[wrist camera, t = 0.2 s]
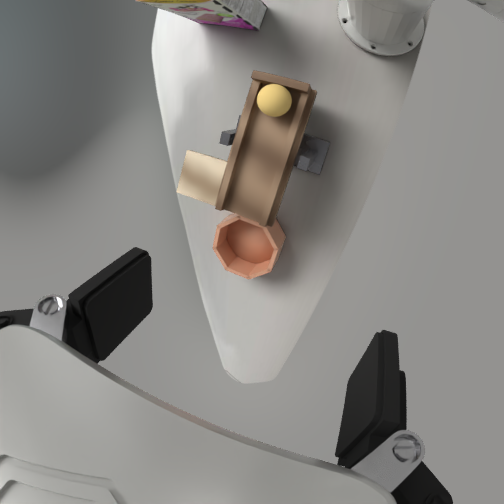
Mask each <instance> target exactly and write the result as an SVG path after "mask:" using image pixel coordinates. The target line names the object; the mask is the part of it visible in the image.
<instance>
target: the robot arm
mask: <svg viewBox="0 0 504 504" xmlns="http://www.w3.org/2000/svg"><path fill="white" fill-rule="evenodd" d="M433 1H434V0H339V3H338V9H337V11H338V19H339V22H340V25H341V27H342V29H343V31H344V32H345V34H346V35H347V36H348V37H349V38H350V39H351V40H352V41H353V42H354V43H355V44H356V45H358V46H359V47H361V48H363V49H364V50H366V51H369V52H371V53H374V54H378V55H382V56H398V55H402V54H405V53H407V52H409V51H411V50H412V49H413V48H415V47H416V46H417V45H418V43H419V42H420V41H421V39H422V37H423V33H424V19H423V16H424V15H425V13H426V12H427V10H428V9H429V7H430V6H431V4H432V3H433ZM468 1H470V2H471V3H473V4H475V5H477V6H478V7H480V8H482V9H484V10H485V11H486V12H488V13H490V14H491V15H493V16H494V17H496V18H497V19H499V20H501V21H502V22H504V0H468ZM344 21H346V22H347V23H343V22H344ZM408 43H409V44H411V46H409V45H408ZM372 47H375V49H372ZM152 307H153V303H152V277H151V257H150V256H149V254H148V252H147V251H145V250H142V249H139V248H137V247H135V248H133V249H131V250H130V251H128V252H127V253H125V254H124V255H123V256H121V257H120V258H118V259H117V260H116V261H114V262H113V263H111V264H110V265H108V266H107V267H106V268H104V269H103V270H101V271H100V272H99V273H97V274H96V275H94V276H93V277H92V278H90V279H89V280H88V281H86V282H85V283H84V284H82V285H81V286H80V287H78V288H77V289H76V290H74V291H73V292H72V293H70V294H69V299H68V300H67V301H66V300H65V298H63V297H62V296H60V295H56V294H50V295H46V296H44V297H42V298H41V299H39V300H38V301H37V303H36V304H35V307H34V309H25V310H13V311H4V312H0V504H453V501H452V497H451V495H450V494H449V492H448V491H447V490H446V489H445V488H444V486H443V485H442V484H441V483H440V482H439V481H438V479H437V478H436V477H435V476H434V475H433V473H432V472H431V471H430V470H429V469H428V468H427V467H426V465H425V464H424V463H423V462H422V459H423V458H424V454H425V446H424V443H423V441H422V440H421V438H420V437H419V436H418V435H417V434H415V433H414V432H411V431H409V430H406V378H405V373H404V371H400V370H399V353H398V337H397V334H396V333H392V332H389V331H386V330H382V332H381V333H378V332H377V333H376V334H375V335H374V337H373V339H372V341H371V343H370V344H369V346H368V348H367V350H366V352H365V353H364V355H363V356H362V358H361V360H360V361H359V363H358V365H357V366H356V368H355V370H354V371H353V373H352V375H351V376H350V378H349V381H348V384H347V391H346V397H345V404H344V410H343V415H342V421H341V427H340V432H339V437H338V442H337V447H336V452H335V456H336V457H339V459H338V464H337V465H335V464H332V463H328V462H325V461H322V460H318V459H315V458H311V457H307V456H304V455H300V454H296V453H294V452H290V451H287V450H284V449H281V448H277V447H275V446H272V445H269V444H265V443H263V442H260V441H257V440H254V439H251V438H248V437H245V436H243V435H240V434H237V433H235V432H232V431H230V430H227V429H224V428H222V427H220V426H217V425H215V424H212V423H210V422H207V421H205V420H203V419H200V418H198V417H196V416H193V415H191V414H189V413H187V412H185V411H183V410H181V409H178V408H176V407H174V406H172V405H170V404H168V403H166V402H164V401H162V400H160V399H158V398H156V397H154V396H152V395H150V394H149V393H147V392H145V391H143V390H141V389H139V388H137V387H135V386H134V385H132V384H130V383H128V382H127V381H125V380H123V379H121V378H120V377H118V376H116V375H115V374H113V373H111V372H109V371H108V370H106V369H104V368H103V367H101V366H100V365H98V364H97V363H98V362H99V361H100V360H101V361H102V360H105V359H106V358H107V357H108V356H109V355H110V353H111V352H112V351H113V350H114V349H115V348H116V347H117V346H118V345H119V344H120V343H121V342H122V341H123V340H124V339H125V338H126V337H127V336H128V335H129V334H130V333H131V332H132V330H134V329H135V328H136V327H137V325H139V323H140V322H141V321H142V320H143V319H144V318H145V317H146V316H147V315H148V314H149V313H150V312H151V310H152ZM339 465H340V466H339ZM342 466H345V467H342Z"/></svg>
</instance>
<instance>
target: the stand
mask: <svg viewBox="0 0 504 504" xmlns="http://www.w3.org/2000/svg"><path fill="white" fill-rule="evenodd" d="M240 118H241V115H240V116H239V119H238V123H237V128H238V124H239V121H240ZM237 128H236V129H234V130H229V131H223V132H222V134H221V139H220V144H223V145H227V146H229V145H232V144H233V141H234V138H235V134H236V131H237ZM329 144H330V142H328V141H325V140H322V139H319V138H316V137H313V136H310V135H307V134H304V135H303V138H302V141H301V144H300V147H299V150H298V153H297V156H296V159H295V162H294V166H296V167H297V168H299V169H302V170H305V171H307V170H308V171H311V172H313V173H316V174H320V172H321V169H322V166H323V163H324V160H325V157H326V154H327V151H328V147H329Z"/></svg>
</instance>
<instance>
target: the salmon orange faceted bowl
mask: <svg viewBox="0 0 504 504" xmlns="http://www.w3.org/2000/svg"><path fill="white" fill-rule="evenodd" d="M259 223H260V222H257V221H254V220H252V219H249V218H246V217H244V216H241V215H238V214H236V213H233V214H231V215H229V216H228V217H227V218H225V219H224V220H223V221H222V222H221V223H220V224H218V225H217V229H216V234H215V239H214V244H213V250H214V252H215V253H216V255H217V257H218V258H219V260H220V261H221V263H222V265H223V266H224V268H225V270H227V271H230V272H232V273H234V274H237V275H239V276H242V277H244V278H246V279H252V278H255V277H258V276H260V275H263V274H266V273H269V272H271V271H272V269H273V267H274V265H275V264H276V262H277V260H278V258H279V255H280V252H281V250H282V247H283V244H284V241H285V238H286V236H285V234H284V232H283V230H282V228H281V226H280V225H279V223H278V221H277V219H275V222H274V225H273V226H272V227H270V226H268V225H267V226H266V227H263V226H260V225H259Z"/></svg>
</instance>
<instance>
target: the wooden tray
mask: <svg viewBox="0 0 504 504" xmlns="http://www.w3.org/2000/svg"><path fill="white" fill-rule="evenodd" d="M251 78H252V79H253V81H252V84H251V87H250V90H249V93H248V96H247V99H246V102H245V105H244V109H243V112H242V115H241V118H240V121H239V124H238V128H237V131H236V134H235V138H234V141H233V144H232V147H231V151H230V154H229V158H228V161H225V160H222V159H218V158H215V157H212V156H208V155H205V154H201V153H198V152H194V151H191V150H187V153H186V157H185V160H184V164H183V168H182V172H181V176H180V180H179V184H178V188H177V192H178V193H180V194H183V195H186V196H189V197H192V198H194V199H197V200H200V201H203V202H206V203H208V204H211V205H214V206H216V208H215V209H217V210H220V211H221V210H224V209H225V210H227V211H230V212H233V213H236V214H238V215H241V216H244V217H246V218H249V219H252V220H254V221H257V222H260V223H259V225H260V226H263V227H266V226H267V225H268V226H270V227H272V226H273V225H274V222H275V219H276V216H277V213H278V210H279V207H280V204H281V201H282V198H283V195H284V192H285V189H286V186H287V183H288V180H289V177H290V174H291V171H292V168H293V165H294V162H295V159H296V156H297V153H298V150H299V147H300V144H301V141H302V138H303V135H304V132H305V129H306V125H307V122H308V119H309V116H310V113H311V110H312V107H313V104H314V101H315V98H316V95H317V91H316V90H313V89H311V86H310V84H308V83H304V82H301V81H297V80H293V79H289V78H285V77H281V76H277V75H273V74H269V73H264V72H259V71H255V70H253V73H252V76H251ZM270 84H278V85H281V86H283V87H285V88H286V89H287V90H288V91H289V92H290V94H291V98H292V104H291V107H290V109H289V110H288V111H287V112H286V113H285V114H283V115H281V116H277V117H272V116H268V115H266V114H264V113H263V112H262V111H261V110H260V109H259V107H258V104H257V96H258V93H259V92H260V90H261V89H262V88H263V87H265V86H267V85H270Z"/></svg>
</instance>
